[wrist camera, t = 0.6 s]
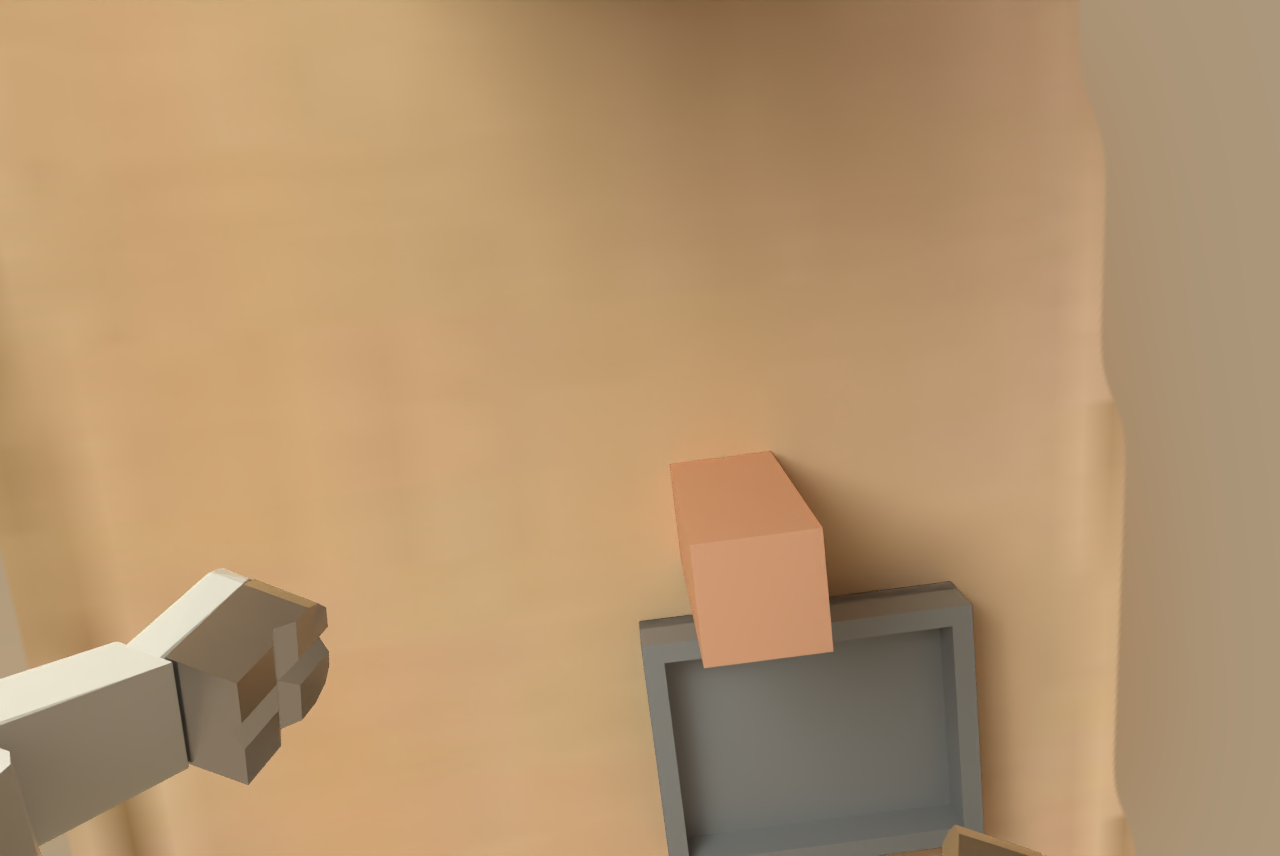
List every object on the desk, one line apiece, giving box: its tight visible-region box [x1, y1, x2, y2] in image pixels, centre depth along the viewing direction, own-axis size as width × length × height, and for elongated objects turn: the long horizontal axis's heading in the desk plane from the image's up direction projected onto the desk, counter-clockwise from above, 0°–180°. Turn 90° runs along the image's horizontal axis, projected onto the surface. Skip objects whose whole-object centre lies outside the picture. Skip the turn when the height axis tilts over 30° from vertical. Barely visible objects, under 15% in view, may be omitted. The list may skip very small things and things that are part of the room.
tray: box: [639, 581, 984, 856], centre depth 50 cm, size 13×16×3 cm
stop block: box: [670, 451, 834, 668], centre depth 43 cm, size 5×5×12 cm
